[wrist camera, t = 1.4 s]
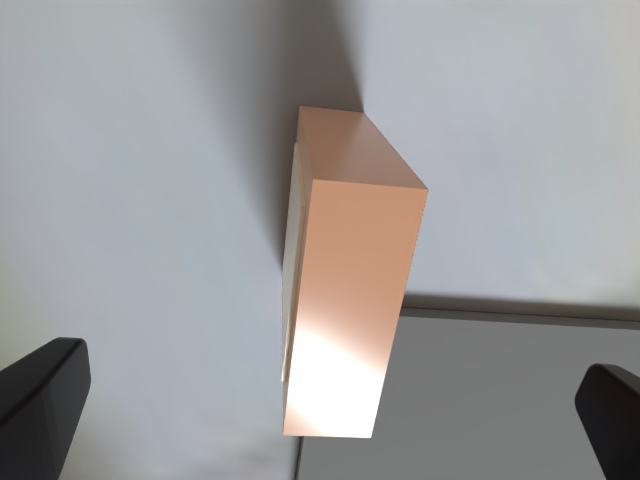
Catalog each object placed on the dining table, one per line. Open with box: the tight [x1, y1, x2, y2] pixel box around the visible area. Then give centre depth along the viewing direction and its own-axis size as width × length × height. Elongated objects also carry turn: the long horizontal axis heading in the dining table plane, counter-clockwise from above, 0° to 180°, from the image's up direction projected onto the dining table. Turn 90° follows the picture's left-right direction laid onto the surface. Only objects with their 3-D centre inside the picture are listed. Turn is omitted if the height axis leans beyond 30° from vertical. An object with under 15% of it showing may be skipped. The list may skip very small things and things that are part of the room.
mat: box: [296, 307, 640, 480], centre depth 21 cm, size 15×16×1 cm
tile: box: [281, 106, 428, 438], centre depth 12 cm, size 2×6×7 cm, turn 173°
